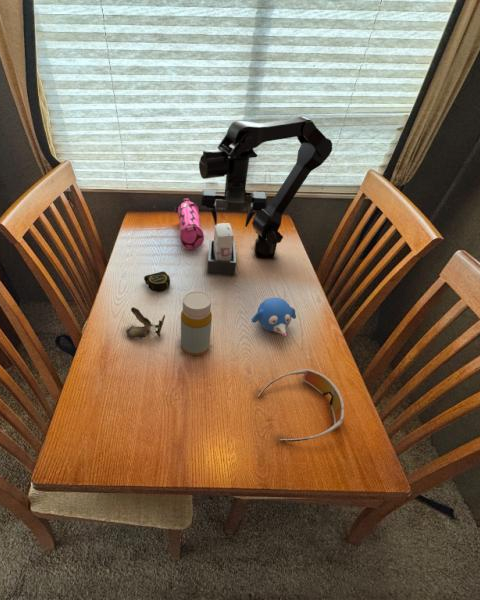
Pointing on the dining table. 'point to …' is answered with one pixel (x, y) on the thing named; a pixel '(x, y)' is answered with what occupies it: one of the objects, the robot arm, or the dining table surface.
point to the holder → (221, 262)
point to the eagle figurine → (148, 328)
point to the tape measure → (158, 281)
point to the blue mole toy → (275, 315)
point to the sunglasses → (324, 388)
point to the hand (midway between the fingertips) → (230, 225)
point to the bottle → (196, 322)
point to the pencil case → (189, 225)
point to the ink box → (223, 242)
